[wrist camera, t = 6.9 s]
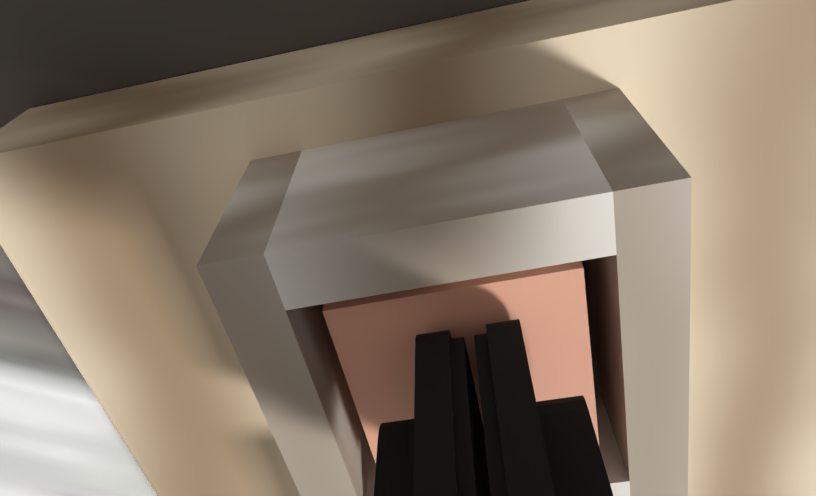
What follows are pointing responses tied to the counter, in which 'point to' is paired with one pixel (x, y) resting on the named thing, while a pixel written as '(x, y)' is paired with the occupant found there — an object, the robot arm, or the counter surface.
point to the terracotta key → (464, 317)
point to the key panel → (443, 234)
